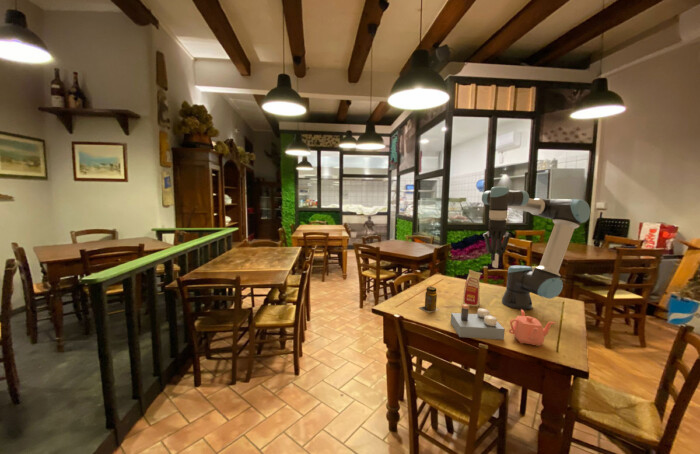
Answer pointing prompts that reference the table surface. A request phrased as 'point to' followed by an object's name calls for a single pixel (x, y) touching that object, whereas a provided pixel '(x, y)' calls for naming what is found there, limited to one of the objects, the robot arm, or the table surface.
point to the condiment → (430, 300)
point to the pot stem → (464, 312)
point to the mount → (476, 327)
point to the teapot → (529, 329)
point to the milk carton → (472, 289)
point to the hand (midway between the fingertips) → (495, 266)
